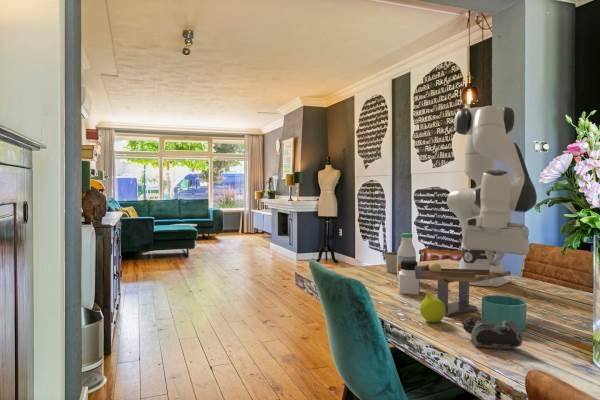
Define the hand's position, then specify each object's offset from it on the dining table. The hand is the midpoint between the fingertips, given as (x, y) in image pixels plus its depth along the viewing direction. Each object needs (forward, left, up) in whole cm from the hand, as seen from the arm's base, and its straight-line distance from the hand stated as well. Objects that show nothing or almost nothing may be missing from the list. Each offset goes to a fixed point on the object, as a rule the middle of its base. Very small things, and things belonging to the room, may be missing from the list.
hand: (494, 265), depth 128 cm
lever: (+4, -8, -5) cm, 11 cm away
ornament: (+25, -4, -15) cm, 29 cm away
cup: (+10, +9, -15) cm, 20 cm away
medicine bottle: (+4, -31, -15) cm, 35 cm away
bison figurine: (+26, +15, -15) cm, 34 cm away
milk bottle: (-10, -45, -15) cm, 49 cm away
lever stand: (+10, -7, -15) cm, 19 cm away
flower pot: (-19, -61, -15) cm, 66 cm away
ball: (+10, -15, -2) cm, 18 cm away
